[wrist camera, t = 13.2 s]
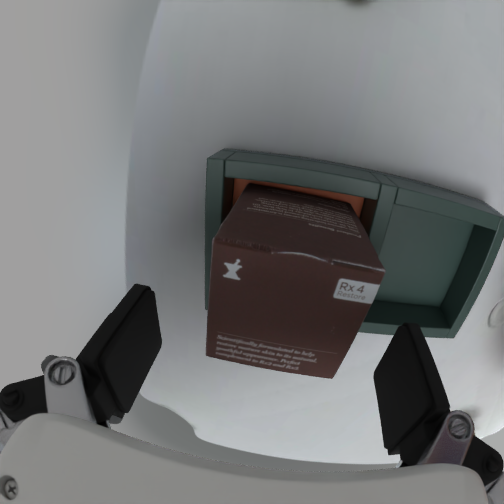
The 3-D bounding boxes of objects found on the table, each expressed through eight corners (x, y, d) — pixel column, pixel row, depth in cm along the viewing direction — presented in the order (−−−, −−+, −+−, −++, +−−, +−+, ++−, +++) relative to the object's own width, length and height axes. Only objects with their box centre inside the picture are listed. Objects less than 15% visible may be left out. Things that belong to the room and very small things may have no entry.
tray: (218, 280, 20) (204, 310, 17) (223, 148, 16) (206, 157, 13) (440, 310, 19) (453, 338, 16) (483, 201, 14) (510, 220, 11)
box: (233, 270, 18) (200, 357, 12) (247, 179, 15) (207, 235, 9) (326, 289, 18) (333, 382, 12) (354, 202, 15) (390, 273, 9)
